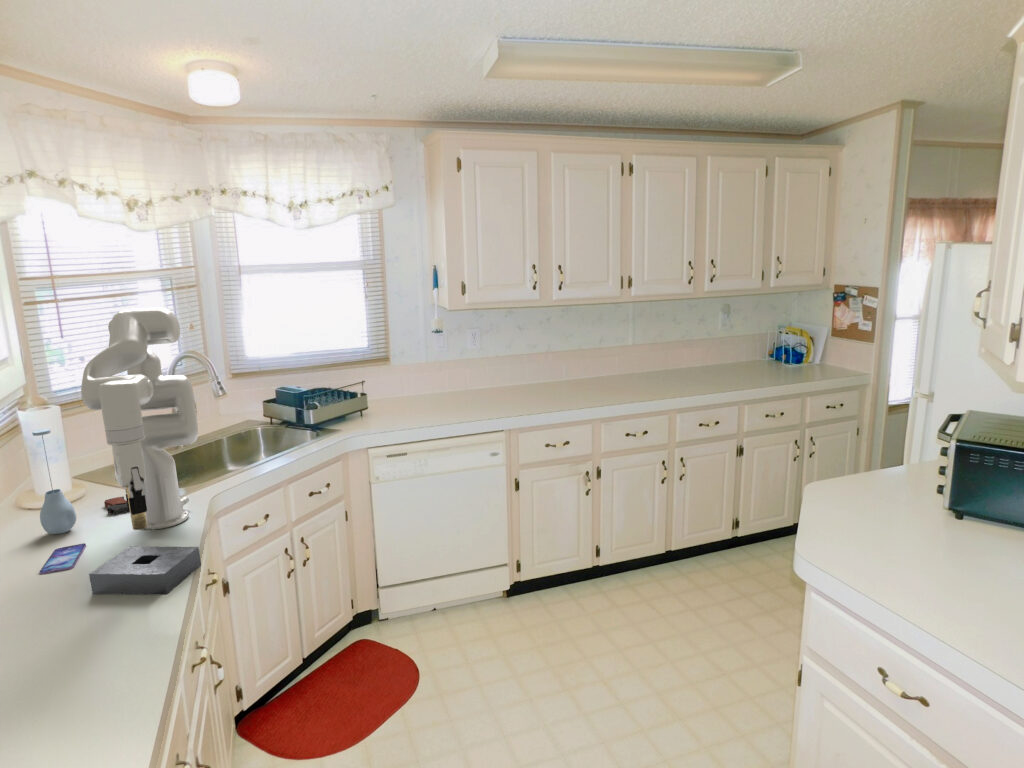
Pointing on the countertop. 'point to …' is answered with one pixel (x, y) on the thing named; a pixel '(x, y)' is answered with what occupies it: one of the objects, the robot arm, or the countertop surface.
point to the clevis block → (145, 570)
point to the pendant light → (55, 506)
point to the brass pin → (137, 517)
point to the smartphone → (63, 559)
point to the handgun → (116, 505)
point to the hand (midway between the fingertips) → (137, 510)
